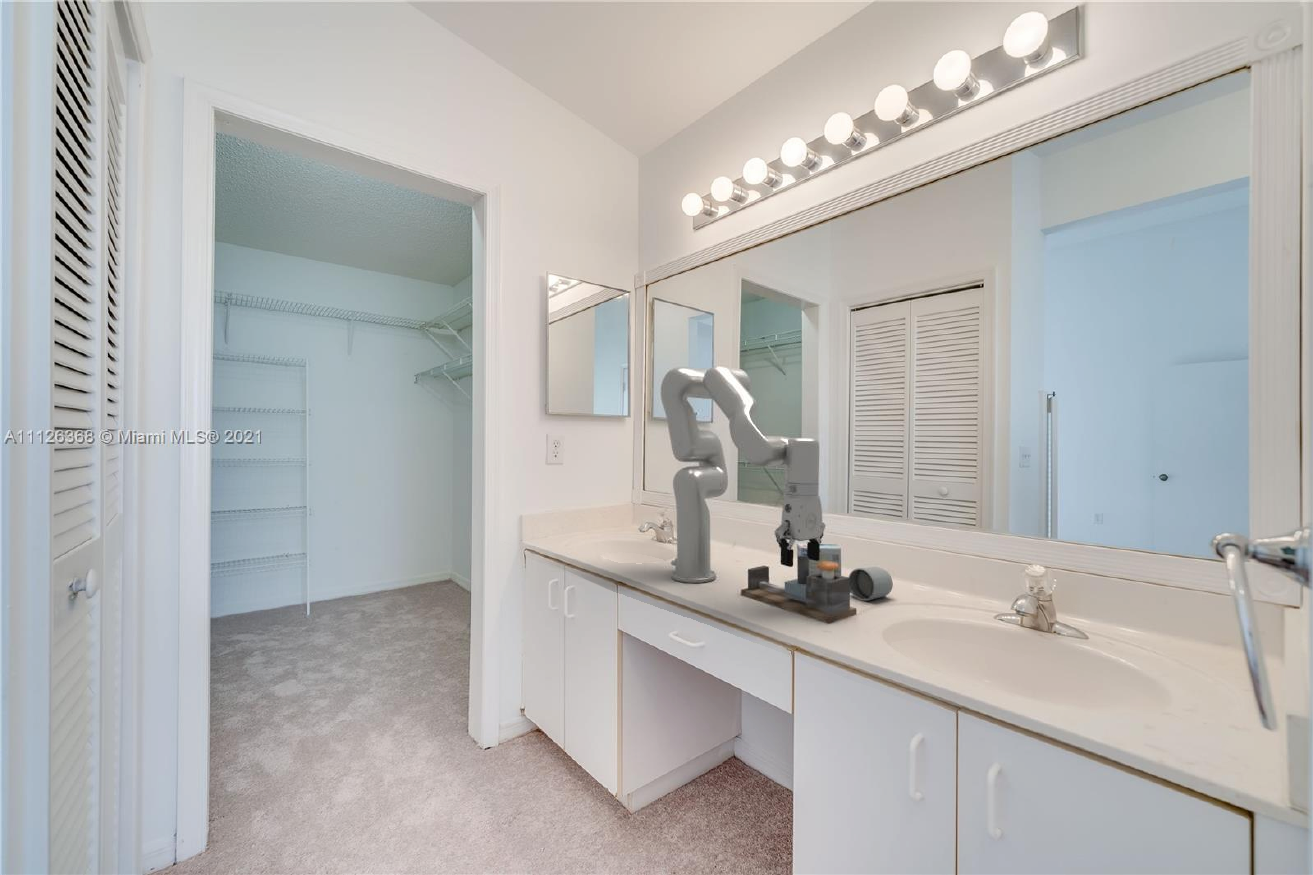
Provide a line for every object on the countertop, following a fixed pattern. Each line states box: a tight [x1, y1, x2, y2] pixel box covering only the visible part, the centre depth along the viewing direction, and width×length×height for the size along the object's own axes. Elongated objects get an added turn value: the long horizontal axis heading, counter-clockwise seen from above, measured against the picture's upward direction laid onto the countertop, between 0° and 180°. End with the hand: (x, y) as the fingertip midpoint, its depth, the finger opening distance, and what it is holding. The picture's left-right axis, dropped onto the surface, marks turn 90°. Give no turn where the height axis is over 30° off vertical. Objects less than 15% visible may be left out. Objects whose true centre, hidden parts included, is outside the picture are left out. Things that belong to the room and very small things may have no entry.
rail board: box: [740, 565, 857, 624], centre depth 121 cm, size 26×10×8 cm, turn 36°
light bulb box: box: [796, 542, 842, 576], centre depth 137 cm, size 11×7×11 cm, turn 84°
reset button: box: [817, 561, 838, 580], centre depth 114 cm, size 4×4×5 cm
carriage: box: [784, 555, 809, 602], centre depth 119 cm, size 6×6×10 cm
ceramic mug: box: [848, 566, 894, 602], centre depth 127 cm, size 11×8×8 cm
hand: (800, 562), depth 120 cm, fingers open, 9 cm apart
